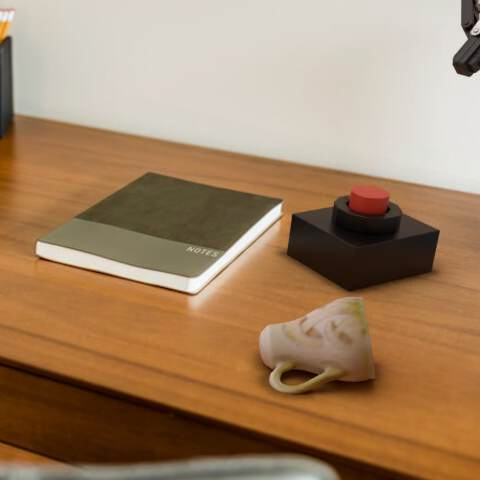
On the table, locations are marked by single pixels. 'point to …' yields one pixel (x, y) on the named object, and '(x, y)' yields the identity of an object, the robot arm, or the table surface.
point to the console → (362, 244)
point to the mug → (321, 346)
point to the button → (369, 199)
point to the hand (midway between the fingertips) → (460, 70)
